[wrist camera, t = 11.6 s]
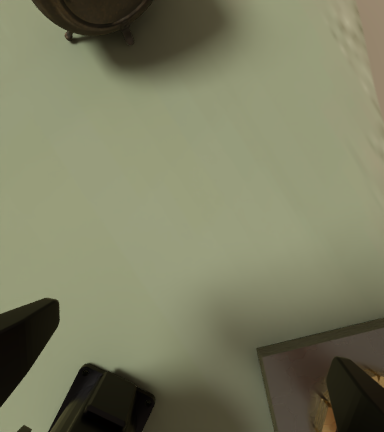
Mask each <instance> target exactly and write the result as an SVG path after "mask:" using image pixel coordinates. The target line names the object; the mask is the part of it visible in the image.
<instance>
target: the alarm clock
mask: <svg viewBox="0 0 384 432" xmlns="http://www.w3.org/2000/svg"><path fill="white" fill-rule="evenodd" d="M32 1H33V3H34V4H35V5H36V7H37V8H38V9H39V10H40V11H41V12H42V13H43V14H44V15H45V16H46V17H47V18H48V19H49V20H51V21H52V22H53V23H55V24H56V25H58V26H60V27H61V28H63V29H65V30H67V32H66V33H65V38H66V39H67V40H68V41H72V34H73V33H76V34H81V35H88V36H96V35H104V34H108V33H112V32H115V31H118V30H121V31H122V33H123V36H124V38H125V41H126V43H127V44H128V45H133V43H134V40H133V37H132V34H131V31H130V23H131V22H133V21H134V20H135V19H137V18H138V17H139V16H140V15H141V14H142V13H143V12H144V11H145V10H146V9H147V8H148V6H149V5H150V4H151V3H152V1H153V0H32Z"/></svg>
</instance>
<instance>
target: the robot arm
mask: <svg viewBox="0 0 384 432" xmlns="http://www.w3.org/2000/svg"><path fill="white" fill-rule="evenodd" d="M59 320H60V317H59V302H58V300H56V299H51V298H44V299H41V300H38V301H35V302H33V303H30V304H27V305H24V306H21V307H19V308H16V309H13V310H10V311H8V312H5V313H2V314H0V407H1V406H2V405H3V403H4V402H5V401H6V400H7V398H8V397H9V396H10V394H11V393H12V392H13V391H14V389H15V388H16V387H17V386H18V384H19V383H20V382H21V380H22V379H23V378H24V377H25V375H26V374H27V373H28V371H29V370H30V368H31V367H32V365H33V364H34V362H35V361H36V359H37V358H38V356H39V355H40V353H41V352H42V350H43V349H44V347H45V346H46V344H47V343H48V341H49V339H50V338H51V336H52V335H53V333H54V332H55V330H56V329H57V327H58V325H59ZM84 370H88V372H89V373H85V372H84ZM326 384H327V389H328V393H329V397H330V401H331V406H332V410H333V414H334V418H335V422H336V426H337V431H338V432H384V388H383V387H382V386H381V385H380V384H379V383H378V382H376V381H375V380H374V379H373V378H372V377H370V376H369V375H368V374H367V373H366V372H365V371H363V370H362V369H361V368H360V367H359V366H358V365H356V364H355V363H354V362H353V361H352V360H350V359H348V358H344V357H339V356H335V357H334V358H333V359H332V362H331V365H330V368H329V371H328V374H327V377H326ZM147 400H150V401H151V403H147V402H146V401H147ZM154 404H155V397H154V395H152V394H151V393H148V392H146V391H144V390H142V389H140V388H138V387H136V385H135V384H133V383H131V382H129V381H127V380H125V379H123V378H121V377H119V376H117V375H115V374H113V373H111V372H105V371H103V370H101V369H99V368H97V367H95V366H93V365H91V364H84V365H83V366H82V367H81V369H80V370H79V372H78V374H77V376H76V378H75V380H74V382H73V384H72V386H71V388H70V390H69V392H68V394H67V396H66V398H65V400H64V402H63V404H62V406H61V408H60V410H59V412H58V413H57V415H56V417H55V419H54V421H53V423H52V425H51V427H50V429H49V431H48V432H142V430H143V428H144V426H145V424H146V422H147V420H148V418H149V416H150V413H151V411H152V409H153V407H154ZM31 430H32V429H30V428H29V427H27V426H25V425H23V426H22V427H21V428H20V429H19V430H18V431H17V432H31Z"/></svg>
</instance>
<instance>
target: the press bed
mask: <svg viewBox="0 0 384 432" xmlns="http://www.w3.org/2000/svg"><path fill="white" fill-rule="evenodd" d="M257 353H258V358H259V363H260V367H261V372H262V376H263V381H264V386H265V390H266V395H267V399H268V404H269V409H270V413H271V418H272V423H273V427H274V432H337V426H336V422H335V418H334V414H333V410H332V406H331V401H330V397H329V393H328V389H327V384H326V377H327V374H328V371H329V368H330V365H331V362H332V359H333V358H334V357H335V356H339V357H344V358H348V359H350V360H352V361H353V362H354V363H355V364H356V365H358V366H359V367H360V368H361V369H362V370H363V371H365V372H366V373H367V374H368V375H369V376H370V377H372V378H373V379H374V380H375V381H376V382H378V383H379V384H380V385H381V386H382V387H383V388H384V318H381V319H377V320H372V321H368V322H364V323H360V324H356V325H352V326H348V327H343V328H339V329H335V330H331V331H327V332H323V333H319V334H315V335H310V336H306V337H302V338H298V339H294V340H290V341H286V342H281V343H277V344H273V345H269V346H265V347H261V348H257Z"/></svg>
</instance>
